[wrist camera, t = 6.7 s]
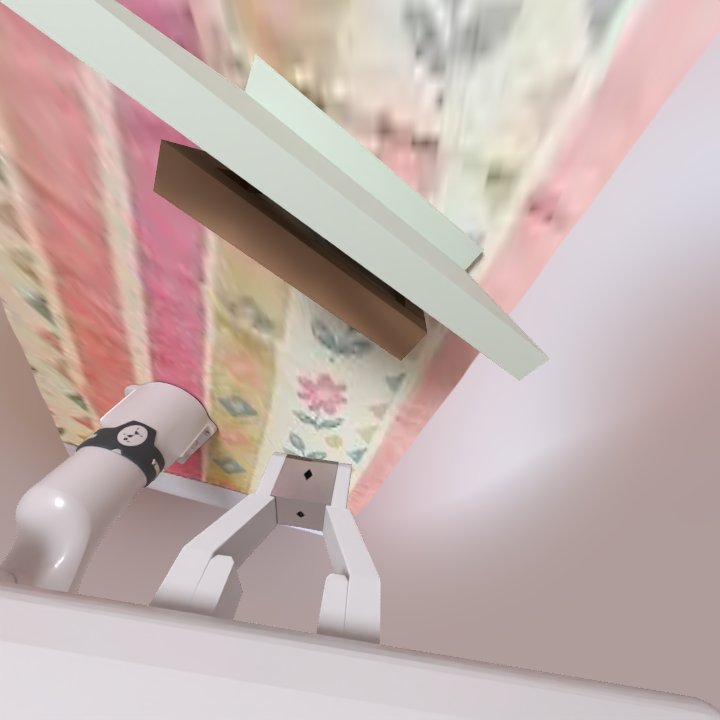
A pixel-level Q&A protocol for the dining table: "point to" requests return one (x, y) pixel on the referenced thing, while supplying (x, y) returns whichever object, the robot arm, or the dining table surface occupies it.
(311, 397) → the dining table surface
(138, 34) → the wall panel
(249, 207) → the wooden picture frame
